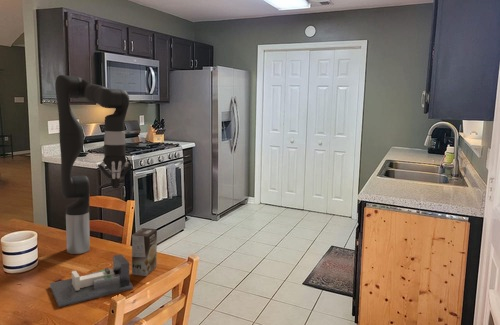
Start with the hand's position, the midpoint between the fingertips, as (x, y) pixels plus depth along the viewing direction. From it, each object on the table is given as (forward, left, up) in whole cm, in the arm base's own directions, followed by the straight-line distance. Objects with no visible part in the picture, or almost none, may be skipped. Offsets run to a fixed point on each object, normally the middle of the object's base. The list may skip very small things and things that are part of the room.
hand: (115, 187), depth 146 cm
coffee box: (+7, +9, -33) cm, 35 cm away
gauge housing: (+11, -12, -33) cm, 37 cm away
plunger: (+11, -11, -31) cm, 35 cm away
